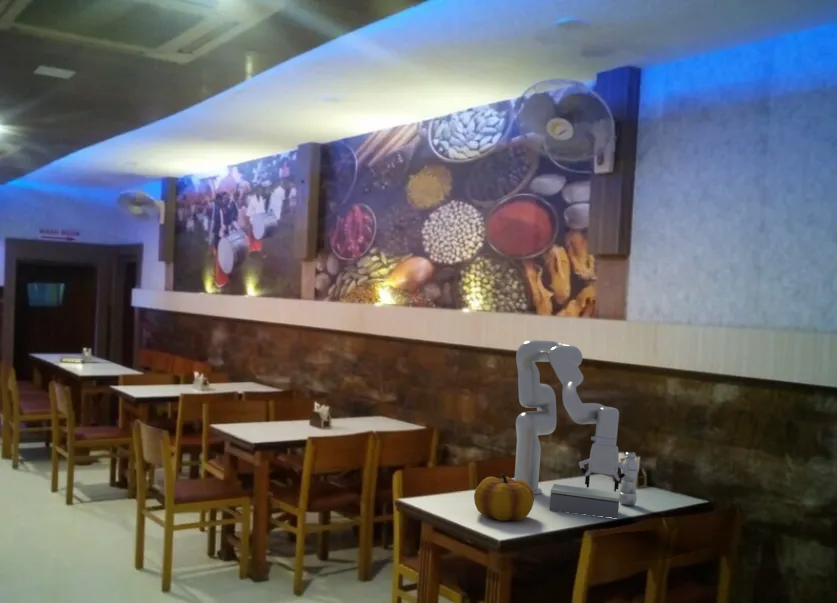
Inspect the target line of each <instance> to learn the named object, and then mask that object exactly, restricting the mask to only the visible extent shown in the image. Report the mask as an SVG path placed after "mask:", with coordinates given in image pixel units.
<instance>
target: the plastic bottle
mask: <svg viewBox="0 0 837 603" xmlns="http://www.w3.org/2000/svg"><path fill="white" fill-rule="evenodd" d="M620 464H621V465H623V466H624V467H626V468H627V469H628V472H627V473H626V475H625V476H624V477H623V478H622V479H620V481H621V482H620V491H619V493H620V496H619V504H621V505H624V506H635V505H636V504H637V501H638V500H637V499H638V498H637V485H636V484H637V479H638V478H637V477H638V473H639V472H638V471H639V464H638V462H637V460H636V452H634V451H633V452H632V451H625V455H624V460H623V461H622V462H621V463H620ZM622 472H623V470H622V469H620V474H621V473H622Z"/></svg>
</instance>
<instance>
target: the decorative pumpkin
mask: <svg viewBox="0 0 837 603" xmlns="http://www.w3.org/2000/svg"><path fill="white" fill-rule="evenodd" d="M473 498H474V499H473V500H474V501H473V502H474V504H475V507H476V509H477V512H479V514H480V515H482V516H484V517H487V518H491V519H492V518H493V519H495V520H496V521H497V520H498V521H499V522H505V521H515V522H517V521H522V520H524V519H525V518H526V517H527V516H528V515H529V514H530V512H531V511H532V509H533V506H534V503H535V495H534V493H533V490H532V488H531V486H530V485H529V484H528V483H527V482H525V481H522V480H516V481H515V480H513V479H512V477H509V476H506V475H505V474H504V473H501V474H500V478H499V477H498V478H497V477H496V476H487V477H485V478H483V479H482V481H480V483H479V484H478V486H477V487H476V488H475V491H474V494H473Z"/></svg>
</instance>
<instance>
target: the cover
mask: <svg viewBox="0 0 837 603" xmlns="http://www.w3.org/2000/svg"><path fill="white" fill-rule="evenodd" d="M551 493H558V494H565V495H573V496H580V497H588V498H595V499H603V500H610V501H617V502H619V496H620V491H619V492H617V491H616V492H615V491H609V490H603V489H595V488H589V487H588V488H587V487H579V486H571V485H565V484H557V483H553V485H552V487H551V489H550V494H551ZM619 503H620V502H619Z"/></svg>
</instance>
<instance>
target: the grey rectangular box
mask: <svg viewBox="0 0 837 603" xmlns="http://www.w3.org/2000/svg"><path fill="white" fill-rule="evenodd" d="M549 496H550V497H549V498H550V499H549V511H551V510H554V511H553V512H558V511H561V513H565V512H569V513H568V514H572V513H578V514H577V515H580V514H586V515H585V516H587V515H595V516H603V517H612V518H617V519H618V518H619V510H620V509H619V507H620V502H617V501H610V500H603V499H595V498H588V497H580V496H573V495H565V494H558V493H551V492H550V495H549ZM618 520H619V519H618Z"/></svg>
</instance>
